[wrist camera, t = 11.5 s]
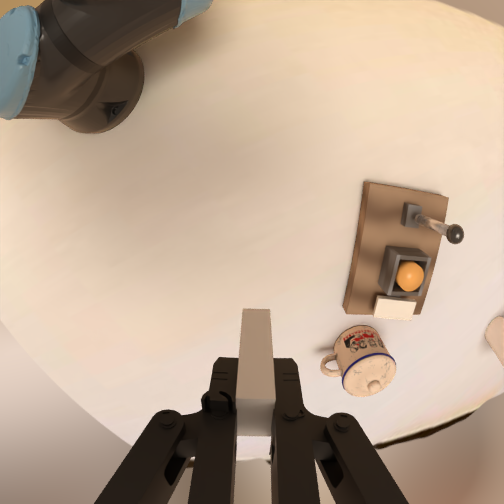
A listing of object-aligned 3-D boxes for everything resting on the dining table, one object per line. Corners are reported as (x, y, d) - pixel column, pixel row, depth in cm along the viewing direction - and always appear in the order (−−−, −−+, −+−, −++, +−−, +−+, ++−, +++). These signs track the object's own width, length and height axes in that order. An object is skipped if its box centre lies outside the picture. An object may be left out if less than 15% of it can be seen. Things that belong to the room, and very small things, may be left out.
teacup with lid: (383, 320, 47) (408, 362, 36) (375, 360, 50) (395, 403, 39) (317, 327, 47) (330, 373, 36) (314, 367, 50) (324, 414, 39)
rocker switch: (377, 295, 41) (378, 298, 40) (414, 299, 40) (416, 302, 39) (372, 313, 42) (373, 317, 41) (409, 317, 41) (410, 320, 40)
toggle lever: (412, 208, 35) (458, 226, 27) (423, 210, 36) (469, 227, 28) (409, 225, 36) (454, 246, 28) (420, 226, 36) (464, 246, 28)
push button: (394, 256, 38) (403, 264, 36) (417, 258, 38) (426, 265, 36) (388, 282, 40) (396, 291, 37) (410, 283, 40) (419, 291, 37)
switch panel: (364, 181, 39) (381, 187, 33) (440, 195, 39) (463, 202, 33) (342, 306, 46) (353, 328, 40) (414, 307, 46) (430, 326, 40)
